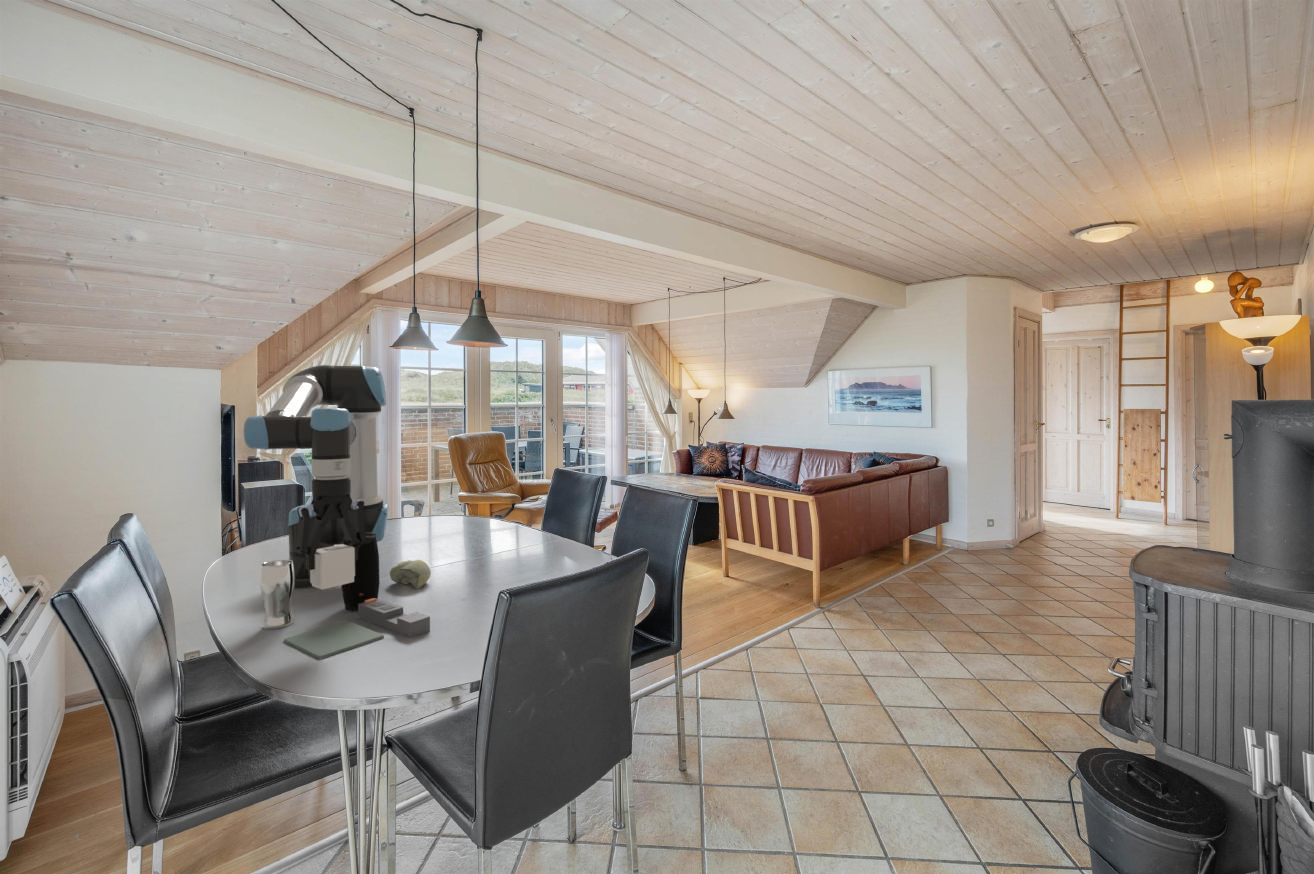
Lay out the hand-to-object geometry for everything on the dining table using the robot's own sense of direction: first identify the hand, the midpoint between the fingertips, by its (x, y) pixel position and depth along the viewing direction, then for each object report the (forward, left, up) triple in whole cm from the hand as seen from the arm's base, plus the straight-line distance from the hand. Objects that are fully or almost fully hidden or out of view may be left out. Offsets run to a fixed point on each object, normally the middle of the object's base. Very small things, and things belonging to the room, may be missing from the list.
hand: (333, 579), depth 130 cm
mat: (0, 0, -14) cm, 14 cm away
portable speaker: (-16, +15, -14) cm, 26 cm away
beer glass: (-20, -3, -14) cm, 25 cm away
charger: (0, 0, -1) cm, 1 cm away
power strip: (+2, +13, -14) cm, 19 cm away
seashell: (-23, +35, -14) cm, 44 cm away
